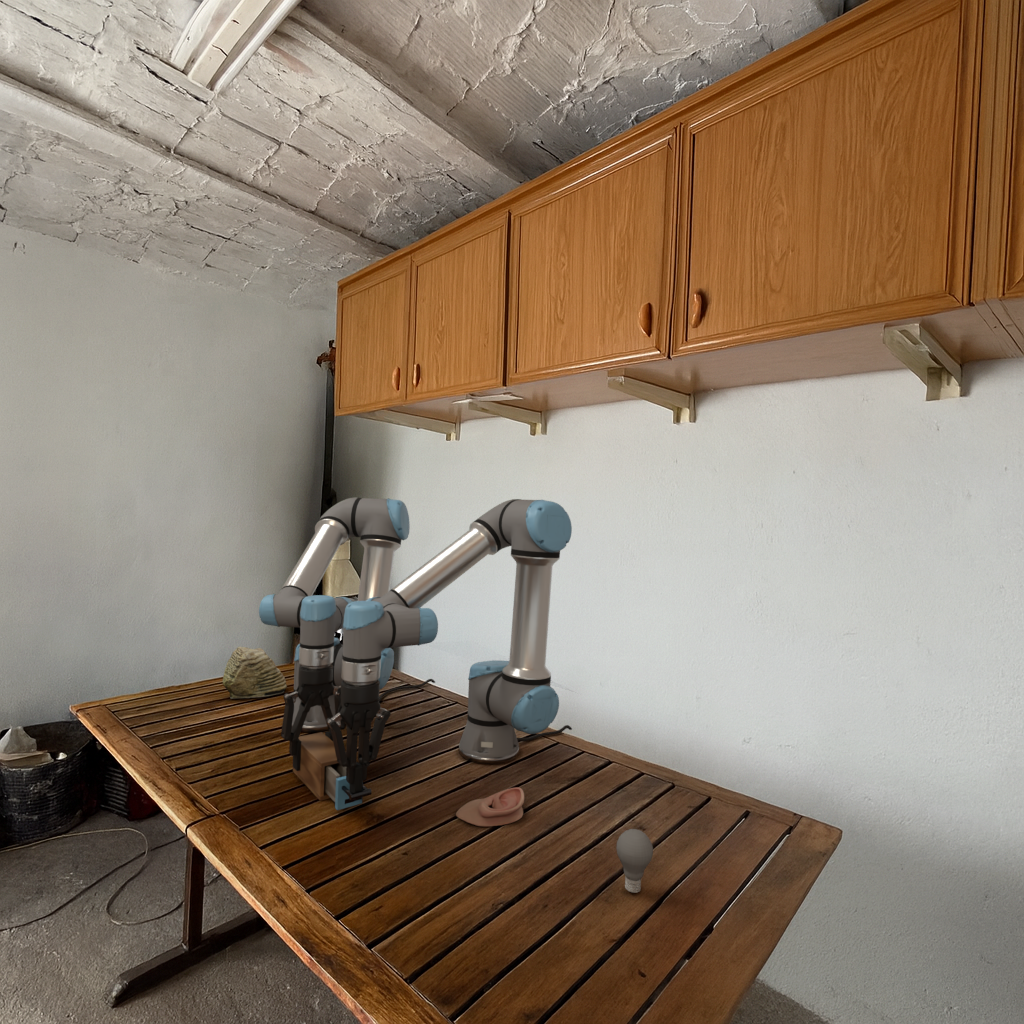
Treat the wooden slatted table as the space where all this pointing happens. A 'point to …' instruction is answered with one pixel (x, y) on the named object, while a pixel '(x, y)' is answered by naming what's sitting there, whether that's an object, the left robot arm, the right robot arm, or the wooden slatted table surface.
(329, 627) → the left robot arm
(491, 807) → the anatomical model
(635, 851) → the light bulb
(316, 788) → the cabinet
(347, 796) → the drawer
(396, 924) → the wooden slatted table surface
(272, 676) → the fossil
